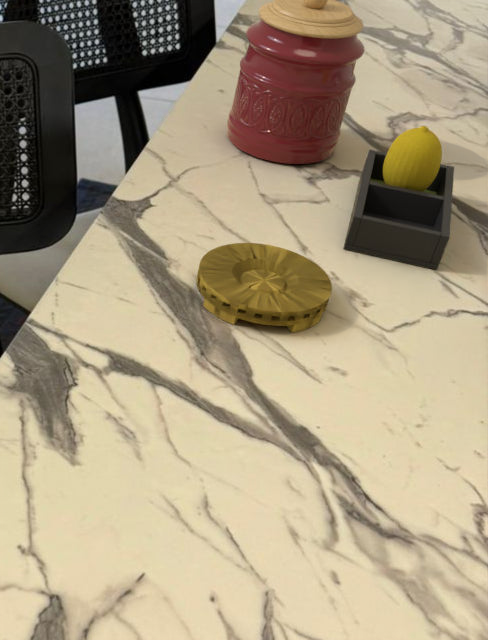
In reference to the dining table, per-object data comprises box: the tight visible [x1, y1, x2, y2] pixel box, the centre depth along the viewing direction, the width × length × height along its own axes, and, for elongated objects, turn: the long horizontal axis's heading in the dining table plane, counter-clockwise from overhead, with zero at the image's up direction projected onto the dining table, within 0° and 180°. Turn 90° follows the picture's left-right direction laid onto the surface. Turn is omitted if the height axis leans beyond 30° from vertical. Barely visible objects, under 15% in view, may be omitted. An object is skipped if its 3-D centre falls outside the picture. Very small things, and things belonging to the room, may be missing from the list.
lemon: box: [383, 125, 443, 192], centre depth 107 cm, size 6×6×8 cm
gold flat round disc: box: [195, 242, 333, 333], centre depth 93 cm, size 12×12×2 cm
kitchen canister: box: [226, 0, 366, 165], centre depth 115 cm, size 13×13×18 cm
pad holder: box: [343, 149, 455, 271], centre depth 106 cm, size 9×17×4 cm, turn 160°
